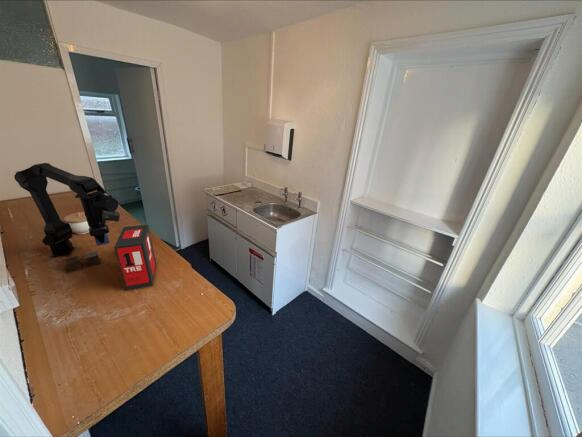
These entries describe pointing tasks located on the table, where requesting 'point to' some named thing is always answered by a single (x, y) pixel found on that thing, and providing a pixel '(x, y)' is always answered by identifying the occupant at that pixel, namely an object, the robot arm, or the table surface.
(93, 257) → the walnut block
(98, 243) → the blue block
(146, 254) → the cleaning product box
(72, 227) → the lidded bowl
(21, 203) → the table surface
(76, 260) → the walnut block
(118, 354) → the table surface
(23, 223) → the table surface
